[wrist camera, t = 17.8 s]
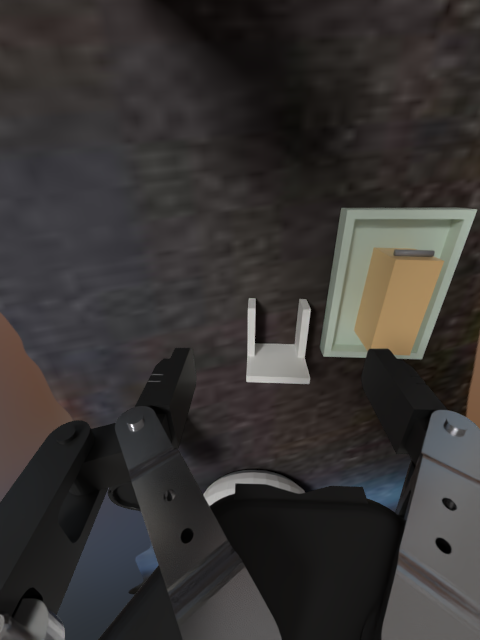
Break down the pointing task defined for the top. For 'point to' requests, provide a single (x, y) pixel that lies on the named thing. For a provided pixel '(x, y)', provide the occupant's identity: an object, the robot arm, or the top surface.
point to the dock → (278, 352)
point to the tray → (355, 255)
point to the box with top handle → (396, 298)
